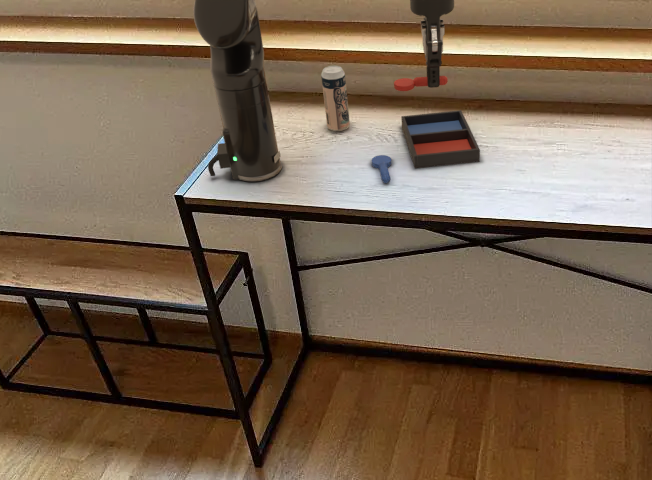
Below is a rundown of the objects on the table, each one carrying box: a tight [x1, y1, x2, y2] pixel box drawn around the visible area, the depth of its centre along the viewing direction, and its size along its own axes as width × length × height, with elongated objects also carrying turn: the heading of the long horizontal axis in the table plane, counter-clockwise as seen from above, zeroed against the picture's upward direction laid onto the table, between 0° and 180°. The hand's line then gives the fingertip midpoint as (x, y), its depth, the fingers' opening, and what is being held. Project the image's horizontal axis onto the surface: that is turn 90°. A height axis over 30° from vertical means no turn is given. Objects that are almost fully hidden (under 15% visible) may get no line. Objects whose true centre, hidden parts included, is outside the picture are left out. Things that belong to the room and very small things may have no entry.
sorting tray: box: [400, 109, 481, 169], centre depth 140 cm, size 13×18×2 cm
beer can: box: [320, 65, 351, 132], centre depth 144 cm, size 5×5×12 cm
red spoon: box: [393, 75, 449, 92], centre depth 130 cm, size 10×4×2 cm, turn 92°
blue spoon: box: [371, 154, 392, 184], centre depth 134 cm, size 10×4×2 cm, turn 8°
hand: (433, 83), depth 130 cm, fingers closed on red spoon, 1 cm apart
